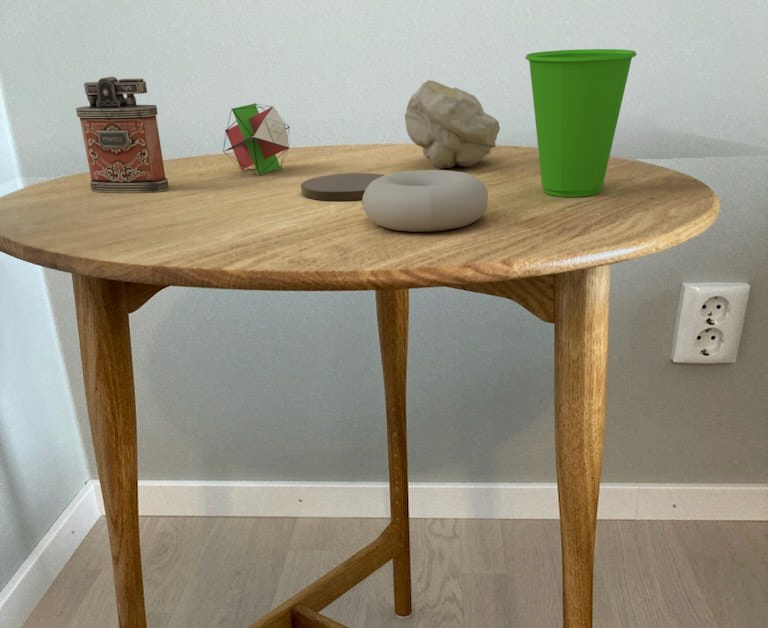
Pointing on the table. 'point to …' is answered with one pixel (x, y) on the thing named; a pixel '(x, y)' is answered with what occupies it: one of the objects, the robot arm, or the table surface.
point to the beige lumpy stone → (450, 125)
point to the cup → (577, 115)
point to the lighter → (121, 138)
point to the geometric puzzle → (257, 138)
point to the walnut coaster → (338, 186)
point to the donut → (425, 200)
